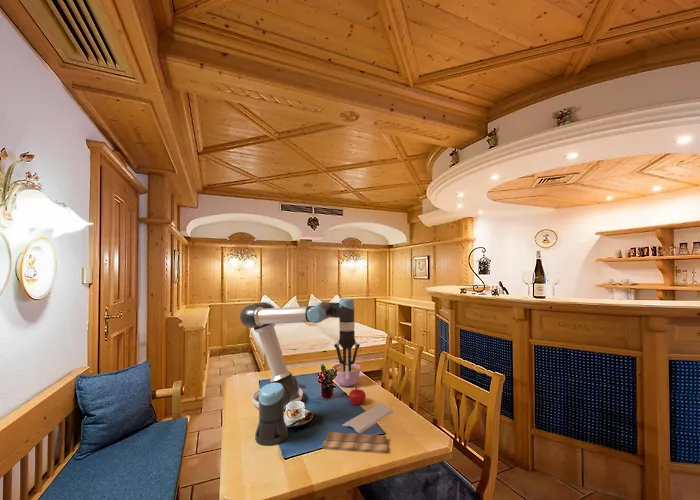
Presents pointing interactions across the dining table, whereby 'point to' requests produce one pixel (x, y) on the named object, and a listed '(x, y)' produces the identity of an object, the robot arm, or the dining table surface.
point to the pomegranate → (357, 396)
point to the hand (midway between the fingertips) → (347, 377)
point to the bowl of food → (352, 375)
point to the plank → (356, 438)
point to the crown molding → (369, 418)
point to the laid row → (355, 446)
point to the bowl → (298, 398)
